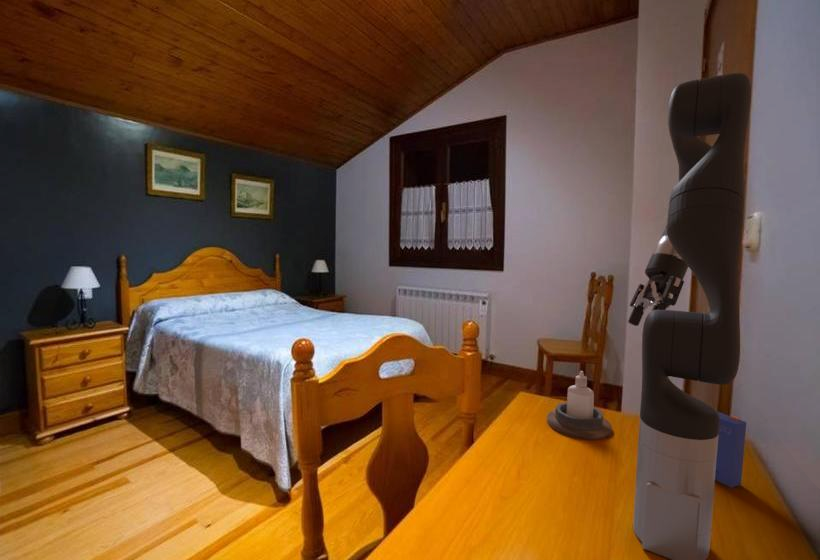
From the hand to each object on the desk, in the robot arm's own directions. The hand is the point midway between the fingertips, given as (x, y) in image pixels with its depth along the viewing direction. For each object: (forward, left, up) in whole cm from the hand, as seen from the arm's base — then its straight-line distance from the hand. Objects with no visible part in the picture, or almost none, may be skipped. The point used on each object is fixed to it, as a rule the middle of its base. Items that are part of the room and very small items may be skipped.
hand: (642, 323), depth 88 cm
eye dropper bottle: (-4, +11, -24) cm, 27 cm away
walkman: (-11, -13, -25) cm, 31 cm away
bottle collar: (-4, +12, -25) cm, 28 cm away
